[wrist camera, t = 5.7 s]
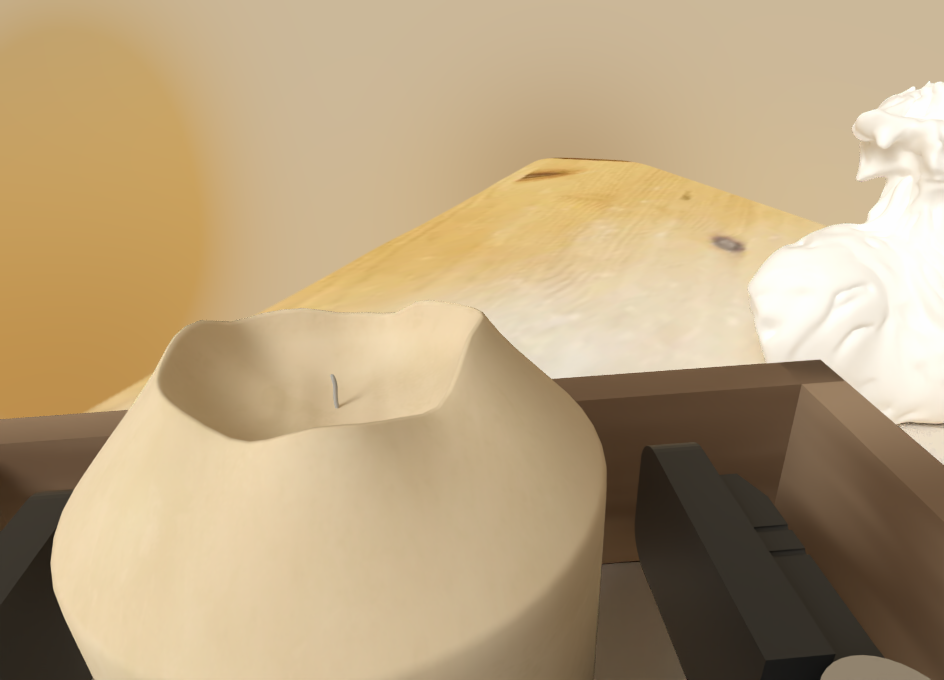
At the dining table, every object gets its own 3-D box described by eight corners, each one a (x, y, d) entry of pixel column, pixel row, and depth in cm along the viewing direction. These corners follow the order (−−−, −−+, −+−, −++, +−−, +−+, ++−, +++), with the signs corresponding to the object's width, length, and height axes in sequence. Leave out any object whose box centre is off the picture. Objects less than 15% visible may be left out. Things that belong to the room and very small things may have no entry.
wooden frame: (31, 582, 16) (-50, 423, 14) (782, 519, 17) (820, 359, 15) (-338, 1116, 8) (-660, 948, 6) (1091, 951, 9) (1273, 748, 7)
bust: (1041, 428, 24) (994, 152, 26) (1278, 415, 17) (1187, 31, 19) (718, 431, 25) (697, 162, 27) (806, 420, 17) (768, 49, 19)
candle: (535, 684, 13) (537, 225, 9) (629, 1063, 9) (741, 475, 4) (268, 727, 13) (124, 260, 8) (206, 1161, 8) (-231, 607, 3)
